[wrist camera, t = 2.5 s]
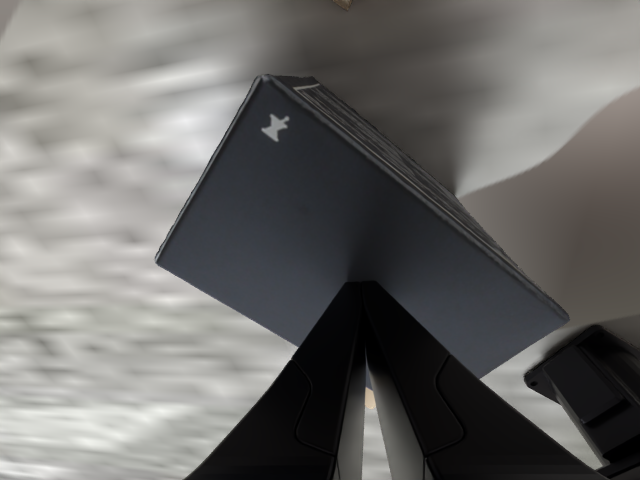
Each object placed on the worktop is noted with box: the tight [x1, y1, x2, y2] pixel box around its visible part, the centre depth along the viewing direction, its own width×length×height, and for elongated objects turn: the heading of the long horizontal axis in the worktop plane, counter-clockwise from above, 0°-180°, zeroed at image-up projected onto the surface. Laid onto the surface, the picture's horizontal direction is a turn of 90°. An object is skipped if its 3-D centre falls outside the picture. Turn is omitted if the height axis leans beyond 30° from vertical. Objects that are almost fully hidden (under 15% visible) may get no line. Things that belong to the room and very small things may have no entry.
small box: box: [155, 74, 570, 391], centre depth 13 cm, size 11×6×10 cm, turn 53°
